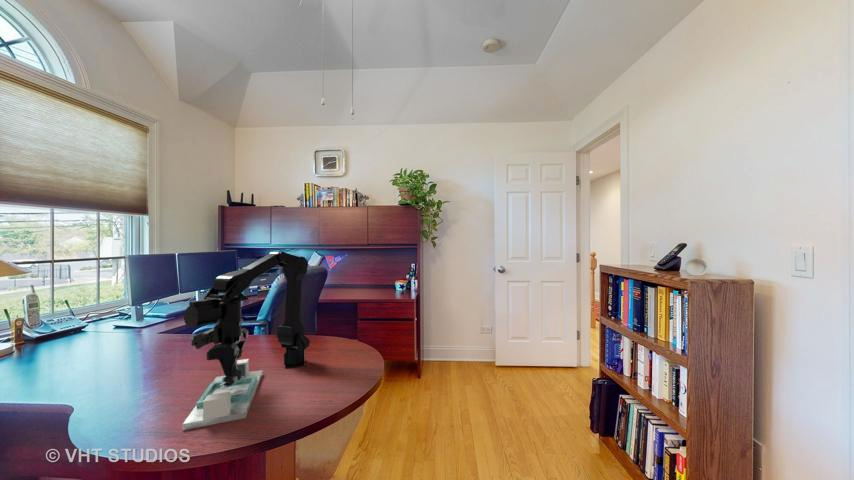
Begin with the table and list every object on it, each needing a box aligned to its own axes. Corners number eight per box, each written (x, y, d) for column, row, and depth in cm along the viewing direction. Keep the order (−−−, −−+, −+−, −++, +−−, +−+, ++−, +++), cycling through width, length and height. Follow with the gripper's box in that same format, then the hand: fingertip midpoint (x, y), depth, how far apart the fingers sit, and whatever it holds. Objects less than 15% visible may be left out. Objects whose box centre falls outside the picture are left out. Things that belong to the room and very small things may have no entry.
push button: (229, 390, 81) (229, 355, 80) (211, 389, 81) (211, 354, 81) (246, 378, 87) (246, 345, 87) (229, 377, 88) (229, 344, 88)
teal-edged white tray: (262, 374, 99) (262, 366, 99) (245, 418, 74) (245, 407, 74) (216, 381, 94) (216, 373, 94) (182, 430, 70) (182, 419, 70)
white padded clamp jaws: (248, 372, 98) (248, 358, 98) (227, 415, 73) (227, 397, 73) (231, 374, 96) (231, 361, 96) (203, 420, 71) (203, 401, 71)
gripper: (207, 313, 90) (207, 364, 90) (181, 330, 73) (182, 393, 73) (248, 310, 94) (248, 358, 94) (233, 325, 77) (234, 384, 77)
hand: (229, 372), depth 85 cm, fingers closed on push button, 4 cm apart
